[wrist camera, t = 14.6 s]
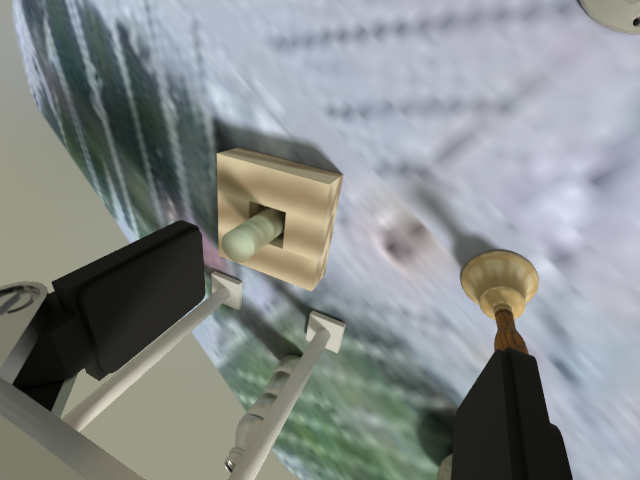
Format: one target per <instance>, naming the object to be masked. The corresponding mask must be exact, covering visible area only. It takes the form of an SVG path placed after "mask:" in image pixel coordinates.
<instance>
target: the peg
mask: <svg viewBox="0 0 640 480" xmlns="http://www.w3.org/2000/svg"><path fill="white" fill-rule="evenodd" d="M285 220H286V212H283V211H280V210H277V209H274V208H271V207H268V208H266V209H265V210H263V211H261V212H260V213H258V214H257V215H255V216H253V217H252V218H250V219H248V220H247V221H245V222H244V223H242V224H240V225H239V226H237V227H235V228H234V229H232V230H231V231H229V232H227V233H226V234H224V236H223V237H222V241H221V243H222V248H223V250H224V252H225V254H226V255H227V256H228V257H229V258H230V259H231V260H233V261H235V262H238V263H243V262H245V261H247V260H248V259H249V258H250V257H252V256H253V255H254V254H256V253H257V252H258V251H259V250H261V249H262V248H263V247H264V246H266V245H267V244H268V243H269V242H271V241H272V240H273V239H274V238H276V237H277V236H278V235H279V234H281V233H282V232H283V231H284V230H285Z"/></svg>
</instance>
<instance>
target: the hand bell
mask: <svg viewBox="0 0 640 480" xmlns="http://www.w3.org/2000/svg"><path fill="white" fill-rule="evenodd" d="M461 283H462V287H463V290H464V291H465V293H466V294H467V296H468V297H469V298H470V299H471V300H472V301H474V302H475V303H477V304H478V305H479V306H480V308H481V310H482V311H483V313H484V314H485V315H487V316H488V317H490V318H492V319H494V320H496V323H497V327H498V331H497V334H496V337H495V341H494V349H495V351H496V350H497V349H500V350H502V351H504V350H505V349H506V348H507V347H511V348H513V349H516V350H518V351H521V352H524V353H526V354H528V350H527V347H526V344H525V342H524V340H523V338H522V337H521V335H520V334H519V333H518V332H517V330H516V328H515V323H514V319H516V318H518V317H519V316H521V314H522V313H523V312H524V310H525V307H526V303H527V302H528V301H529V300H530V299H531V298H532V297H533V296H534V295H535V293H536V291H537V289H538V285H539V278H538V274H537V271H536V269H535V268H534V267H533V265H532V264H531V263H530V262H529V261H528V260H527V259H525V258H524V257H522V256H520V255H518V254H515V253H512V252H507V251H490V252H486V253H483V254H480V255H478V256H476V257H474V258H473V259H472V260H470V261H469V262H468V263H467V265H466V266H465V268H464V269H463V272H462V276H461Z"/></svg>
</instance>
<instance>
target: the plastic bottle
mask: <svg viewBox="0 0 640 480" xmlns="http://www.w3.org/2000/svg"><path fill="white" fill-rule="evenodd" d="M300 359H301V357H299V356H296V355H288V356H285V357H284V358H283V359H282V360H281V361H280V362H279V363H278V364H277V366H276V368H275V370H274V373H273V376H272V378H271V379H270V381H269V383H268V385H267V387H266V389H265V390H264V391H263V393H262V395H261V396H260V397H259V398H258V400H257V401H256V402H255V404H254V405H253V406H252V407H251V408H250V409H249V411H248V412H247V413H246V414H245V415H244V416H243V417H242V419H241V420H240V421H239V424H238V427H237V430H236V446H235V447H234V448H232V449H231V451H230V453H229V455H228V457H227V458H226V460H225V462H224V465H225V467H226V469H227V470H228V471H229V472H230V473H232V472H233V470H234V468H235V467H236V465H237V463H238V462H239V460H240V458H241V457H242V455H243V453H244V452H245V450H246V448H247V447H248V445H249V443H250V442H251V440H252V438H253V437H254V435H255V434H256V432H257V430H258V429H259V427H260V425H261V424H262V422H263V420H264V419H265V417H266V415H267V414H268V412H269V410H270V409H271V407H272V405H273V404H274V402H275V400H276V399H277V397H278V395H279V394H280V392H281V390H282V389H283V387H284V385H285V384H286V382H287V380H288V379H289V377H290V375H291V374H292V372H293V370H294V369H295V367H296V365H297V364H298V362H299V360H300ZM308 380H309V378H308ZM308 380H307V382H306V384H307V383H308ZM306 384H305V386H306ZM305 386H304V387H305ZM304 387H303V388H304ZM302 390H303V389H302ZM277 437H278V436H277ZM276 440H277V438H276ZM276 440H275V442H276ZM275 442H274V444H275ZM274 444H273V445H272V447H271V449H272V448H273V446H274ZM271 449H270V450H271Z"/></svg>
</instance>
